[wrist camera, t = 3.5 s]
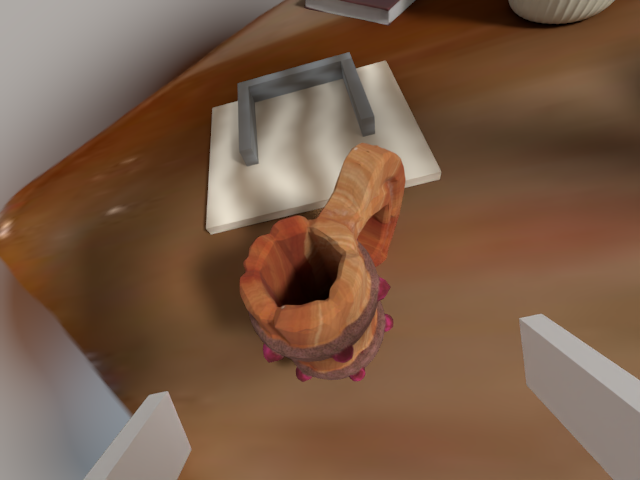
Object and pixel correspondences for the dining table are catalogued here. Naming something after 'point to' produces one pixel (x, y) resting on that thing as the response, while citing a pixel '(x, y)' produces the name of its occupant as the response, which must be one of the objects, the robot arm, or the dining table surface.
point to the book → (362, 8)
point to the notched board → (305, 139)
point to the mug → (329, 273)
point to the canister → (558, 10)
